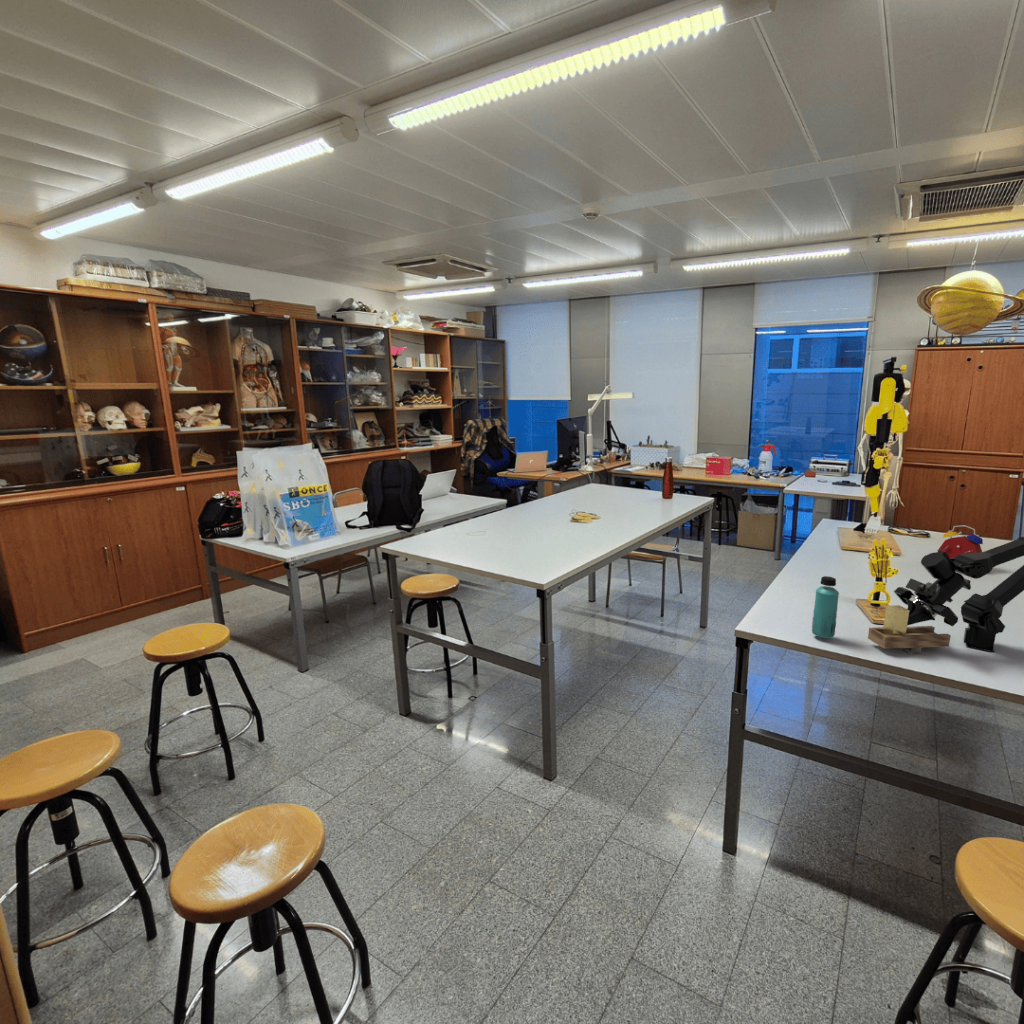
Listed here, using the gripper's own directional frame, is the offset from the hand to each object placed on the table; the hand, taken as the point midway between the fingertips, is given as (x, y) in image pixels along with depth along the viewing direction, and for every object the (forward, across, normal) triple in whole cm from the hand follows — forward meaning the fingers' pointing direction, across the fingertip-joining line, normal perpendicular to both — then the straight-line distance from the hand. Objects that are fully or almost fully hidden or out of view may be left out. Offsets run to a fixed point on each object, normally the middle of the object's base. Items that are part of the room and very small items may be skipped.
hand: (902, 624), depth 165 cm
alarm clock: (-54, -73, +65) cm, 112 cm away
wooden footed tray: (+4, 0, +7) cm, 8 cm away
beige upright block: (+4, 0, +1) cm, 4 cm away
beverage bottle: (+19, -9, -7) cm, 22 cm away
